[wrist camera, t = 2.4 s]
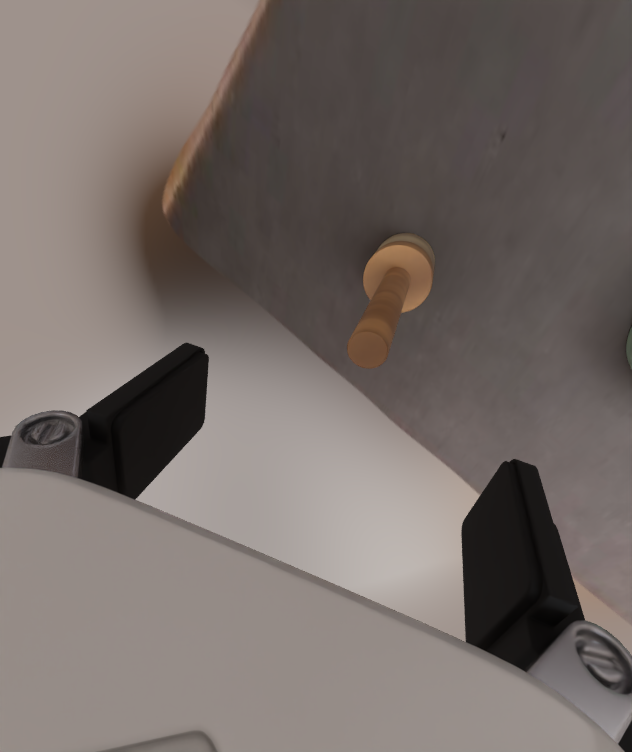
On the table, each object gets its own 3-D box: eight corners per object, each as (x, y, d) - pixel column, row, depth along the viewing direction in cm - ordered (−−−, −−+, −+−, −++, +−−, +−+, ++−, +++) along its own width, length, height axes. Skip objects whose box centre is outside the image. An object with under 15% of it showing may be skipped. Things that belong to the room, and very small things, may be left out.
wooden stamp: (363, 252, 30) (297, 327, 17) (418, 220, 27) (390, 279, 15) (390, 303, 31) (348, 408, 18) (445, 276, 29) (440, 375, 16)
